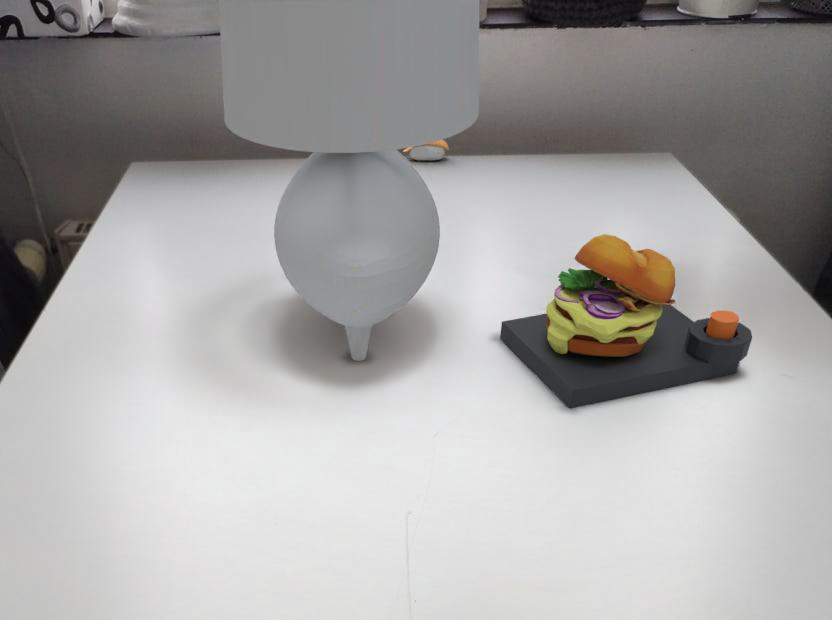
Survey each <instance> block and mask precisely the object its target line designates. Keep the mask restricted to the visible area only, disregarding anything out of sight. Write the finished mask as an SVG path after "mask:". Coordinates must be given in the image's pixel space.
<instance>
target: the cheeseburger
mask: <svg viewBox="0 0 832 620" xmlns="http://www.w3.org/2000/svg"><path fill="white" fill-rule="evenodd" d="M574 261H576V262H577V263H578V264H580V265H582V266H583V267H585V268H586V269H574V268H571V267H569V268H568V269H567V271H568V272H566V271H563V270H561V272H560V273H559V274H558V276H557V278H558V281H559V284H560V285H559V286H557V287H556V288H555V289H554V293H553V295H554V296H553V297H554V298H553V299H552V300H551V301H550V302H549V304H547V305H546V311H545V312H546V313H545V314H547V339H548V341H549V344H550V346H551V347H552V348H553V350H554V351H555V352H557V353H560V354H566V353H567V350H568V351H570V352H572V353H577V354H584V355H590V356H605V357H625V356H629V355H632V354H634V353H637V352H640V350H641V349H642V347H643V346H644V344H645V343H646V341H647V340H648V339H649V338H650V337H651V336H652V335H653V332H654V329H655V327H656V324H657V319H658V318H659V317H660V316H661V314H662V305H667V306H669V305H672V306H673V305H675V304H676V299H674V298H673V296H674V291H675V288H676V269H675V266H674V264H673V262H672V261H671V259H669V258H668V257H667V256H665V255H663V254H661V253H659V252H658V251H655V250H653V249H650V248H645V249H640V250H634V249H632V247H631V245H630V244H629V243H628V242H627V241H625V240H624V239H622V238H620V237H618V236H615V235H612V234H605V233H603V234H600V235H596V236H594V237H593V238H591V239H589V241H587V242H586V243H585V244H584V245H582V246H581V248H580V249H579V251H578V252H577V253H576V254H575V256H574ZM672 298H673V299H672Z"/></svg>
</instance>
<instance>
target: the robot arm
mask: <svg viewBox="0 0 832 620" xmlns="http://www.w3.org/2000/svg"><path fill="white" fill-rule="evenodd" d="M811 1H813V0H779V2H780V3H784V4H793V3H801V2H811Z"/></svg>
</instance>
